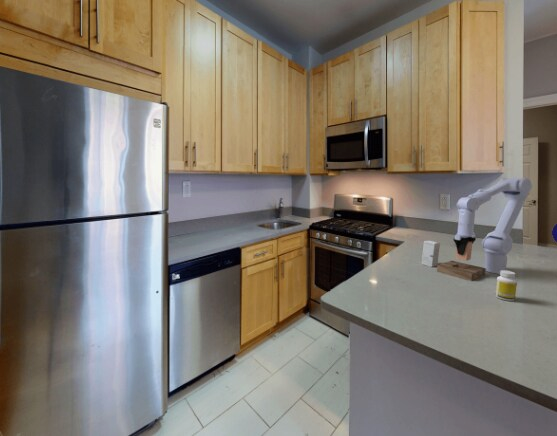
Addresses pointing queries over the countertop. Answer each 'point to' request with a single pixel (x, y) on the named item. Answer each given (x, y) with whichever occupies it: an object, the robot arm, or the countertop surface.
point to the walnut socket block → (461, 270)
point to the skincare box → (430, 253)
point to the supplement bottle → (506, 286)
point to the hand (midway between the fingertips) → (463, 253)
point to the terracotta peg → (465, 253)
